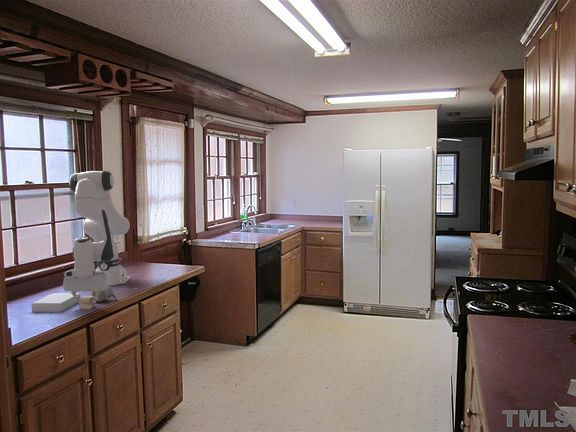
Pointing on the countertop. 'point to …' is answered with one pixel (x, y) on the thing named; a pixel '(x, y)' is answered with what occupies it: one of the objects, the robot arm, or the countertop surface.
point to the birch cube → (86, 302)
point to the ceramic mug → (105, 294)
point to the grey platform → (54, 302)
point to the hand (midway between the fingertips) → (86, 300)
